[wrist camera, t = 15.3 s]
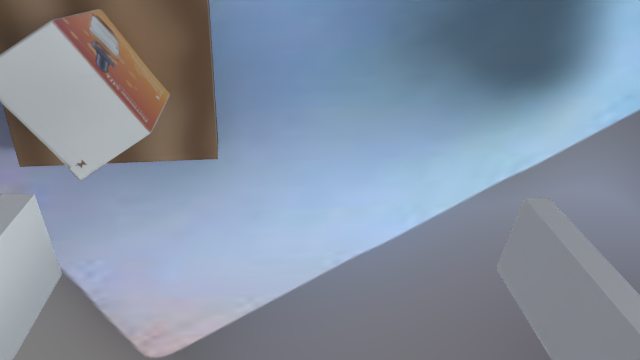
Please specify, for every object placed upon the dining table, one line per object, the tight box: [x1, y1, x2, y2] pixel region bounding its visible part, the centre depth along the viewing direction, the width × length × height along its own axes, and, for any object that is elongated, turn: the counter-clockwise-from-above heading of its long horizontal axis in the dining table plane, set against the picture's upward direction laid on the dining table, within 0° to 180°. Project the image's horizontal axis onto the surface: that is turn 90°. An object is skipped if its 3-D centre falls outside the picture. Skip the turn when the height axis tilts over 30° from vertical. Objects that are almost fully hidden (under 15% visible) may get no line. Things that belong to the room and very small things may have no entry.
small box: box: [0, 9, 170, 180], centre depth 29 cm, size 8×6×10 cm
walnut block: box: [0, 0, 218, 167], centre depth 36 cm, size 16×16×5 cm
